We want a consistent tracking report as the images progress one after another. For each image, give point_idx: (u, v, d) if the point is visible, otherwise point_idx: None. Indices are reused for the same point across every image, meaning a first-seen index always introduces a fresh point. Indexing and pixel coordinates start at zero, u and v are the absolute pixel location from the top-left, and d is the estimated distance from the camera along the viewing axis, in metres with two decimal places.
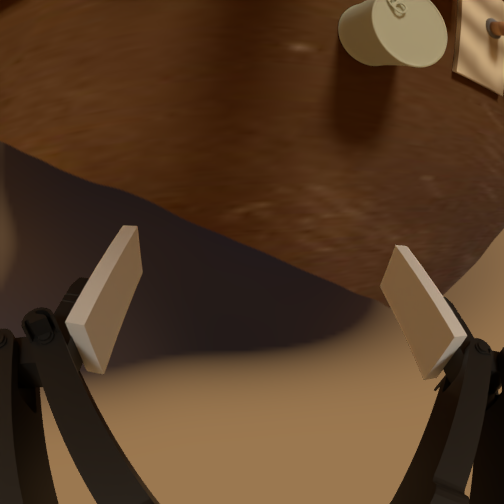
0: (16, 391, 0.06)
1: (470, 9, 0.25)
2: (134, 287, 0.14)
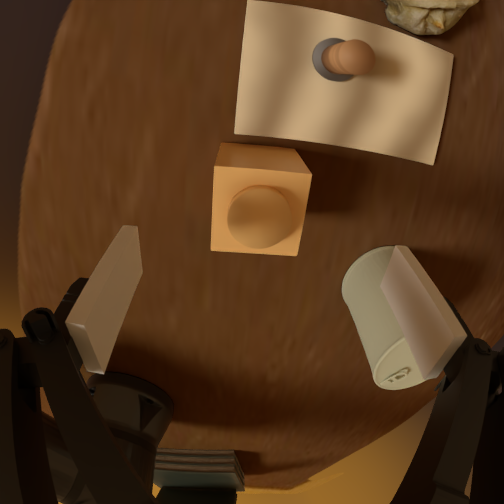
0: (16, 391, 0.06)
1: (315, 121, 0.22)
2: (134, 287, 0.14)
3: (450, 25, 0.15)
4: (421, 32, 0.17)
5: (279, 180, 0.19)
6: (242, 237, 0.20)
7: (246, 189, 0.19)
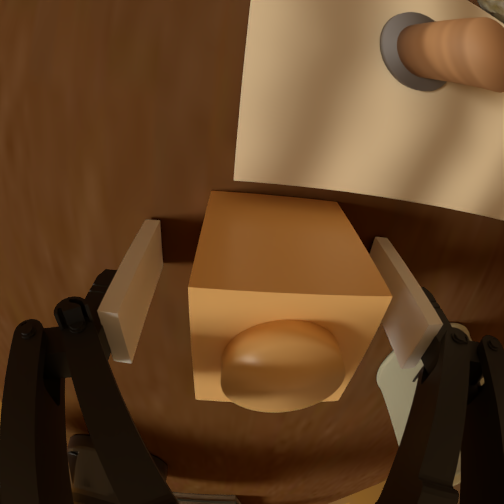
0: (41, 383, 0.07)
1: (379, 159, 0.12)
2: (156, 280, 0.15)
3: None
4: None
5: (328, 310, 0.09)
6: (249, 402, 0.10)
7: (258, 333, 0.09)
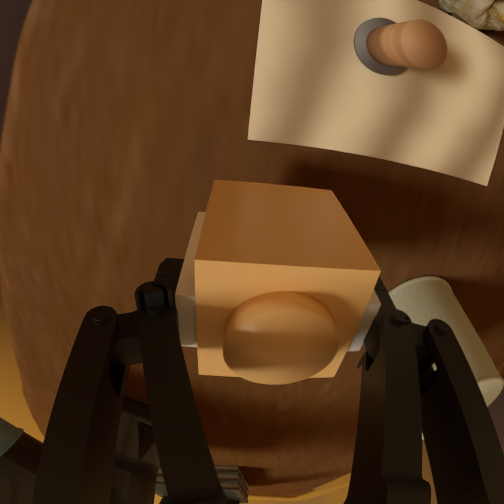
0: (107, 373, 0.08)
1: (355, 125, 0.16)
2: None
3: None
4: (481, 26, 0.11)
5: (321, 283, 0.10)
6: (250, 373, 0.11)
7: (258, 303, 0.10)
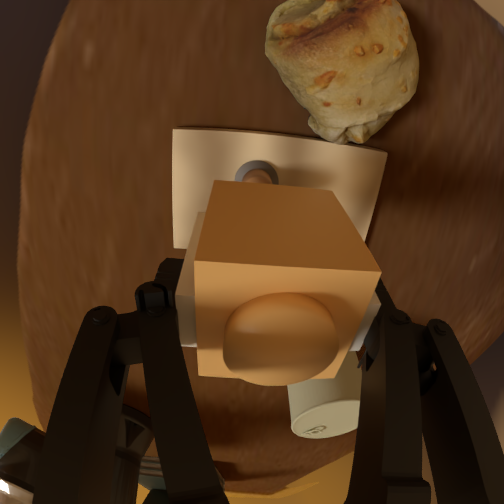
0: (107, 373, 0.08)
1: None
2: None
3: (376, 130, 0.21)
4: (342, 144, 0.23)
5: (321, 284, 0.10)
6: (250, 374, 0.11)
7: (257, 304, 0.10)
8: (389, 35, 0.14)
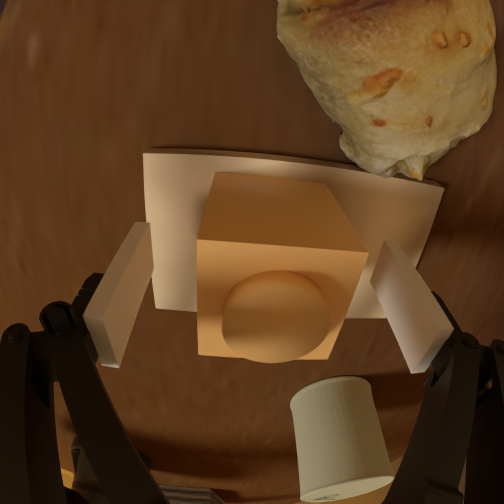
0: (30, 386, 0.07)
1: None
2: (146, 283, 0.14)
3: None
4: None
5: (313, 263, 0.11)
6: (247, 350, 0.12)
7: (254, 281, 0.11)
8: (478, 21, 0.06)
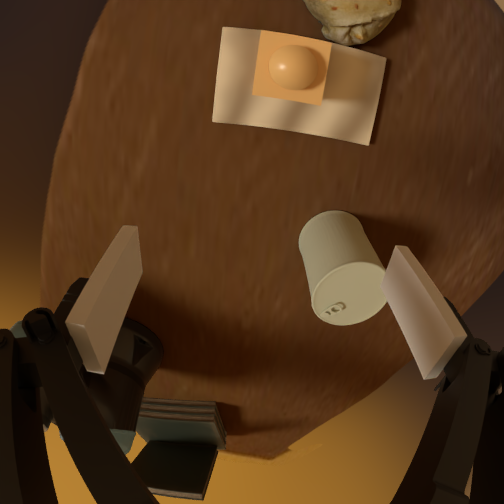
0: (16, 391, 0.06)
1: (269, 112, 0.31)
2: (134, 287, 0.14)
3: (372, 34, 0.24)
4: (348, 44, 0.26)
5: (308, 44, 0.21)
6: (279, 79, 0.22)
7: (284, 46, 0.21)
8: None
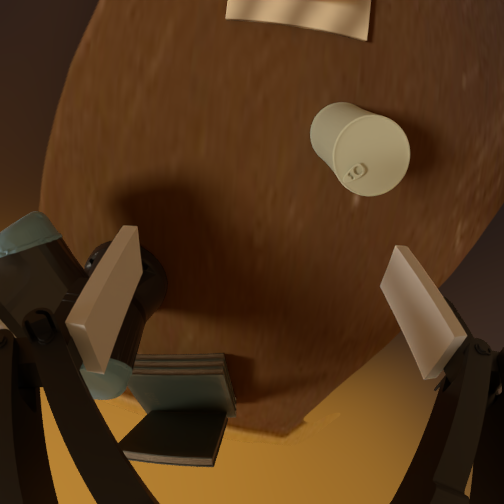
0: (16, 391, 0.06)
1: (276, 10, 0.29)
2: (134, 287, 0.14)
3: None
4: None
5: None
6: None
7: None
8: None
